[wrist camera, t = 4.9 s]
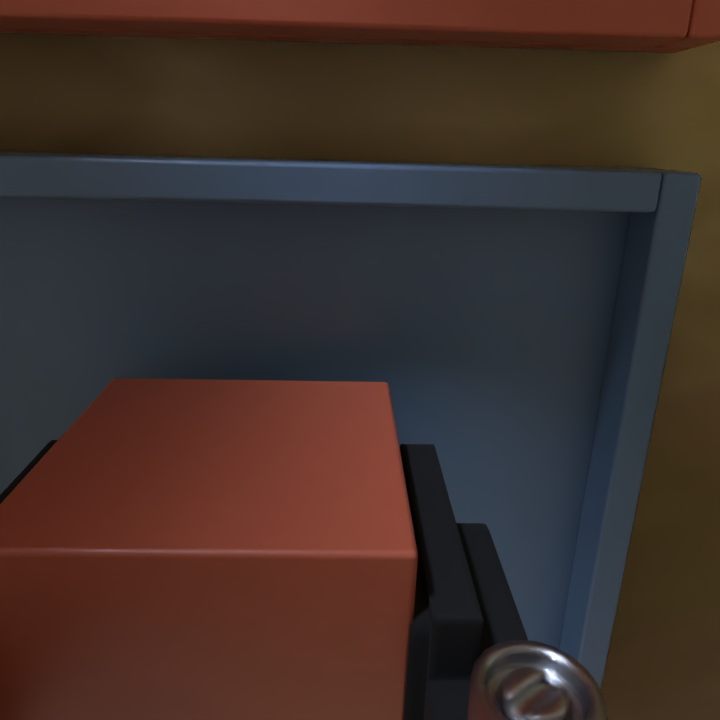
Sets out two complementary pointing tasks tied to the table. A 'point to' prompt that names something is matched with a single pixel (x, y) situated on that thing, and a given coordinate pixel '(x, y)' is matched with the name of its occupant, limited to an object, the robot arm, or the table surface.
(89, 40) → the table surface
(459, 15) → the terracotta tray
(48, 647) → the block
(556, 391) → the slate tray
